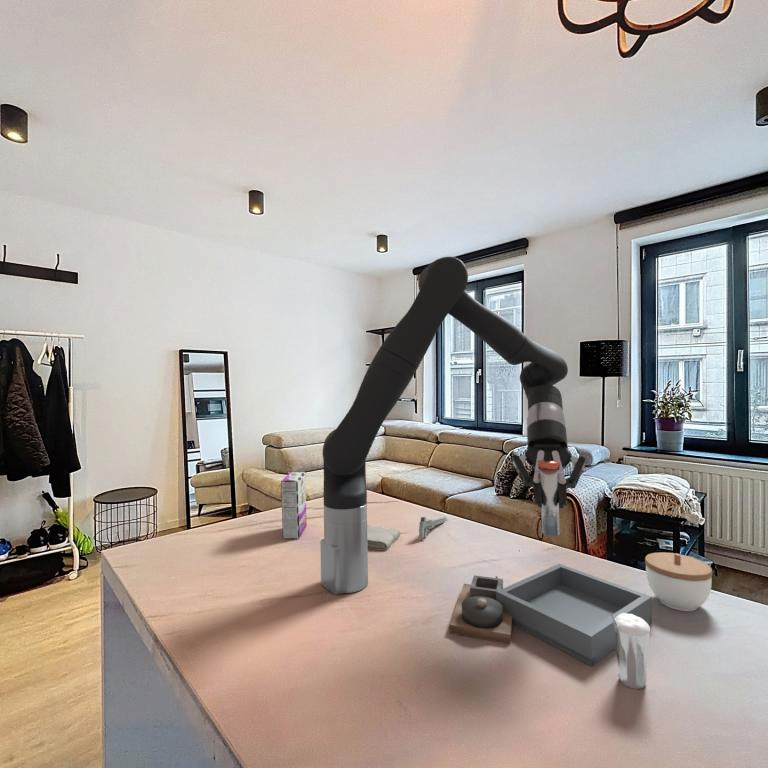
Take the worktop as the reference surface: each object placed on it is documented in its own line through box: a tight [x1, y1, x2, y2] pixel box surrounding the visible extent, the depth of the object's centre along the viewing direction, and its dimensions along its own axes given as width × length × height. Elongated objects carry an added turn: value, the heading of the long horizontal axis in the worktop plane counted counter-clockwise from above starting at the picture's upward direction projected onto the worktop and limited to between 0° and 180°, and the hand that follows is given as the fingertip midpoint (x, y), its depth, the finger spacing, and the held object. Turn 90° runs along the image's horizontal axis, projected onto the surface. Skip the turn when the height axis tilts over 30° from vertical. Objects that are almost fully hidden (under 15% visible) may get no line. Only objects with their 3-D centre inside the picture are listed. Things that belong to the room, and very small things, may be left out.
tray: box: [496, 563, 653, 667], centre depth 80 cm, size 20×18×4 cm
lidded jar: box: [644, 551, 713, 612], centre depth 85 cm, size 11×11×9 cm
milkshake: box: [610, 612, 651, 690], centre depth 63 cm, size 5×5×10 cm
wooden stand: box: [449, 574, 513, 644], centre depth 82 cm, size 16×10×4 cm, turn 161°
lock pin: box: [538, 460, 561, 537], centre depth 81 cm, size 4×4×13 cm
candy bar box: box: [280, 471, 307, 540], centre depth 128 cm, size 11×5×16 cm, turn 179°
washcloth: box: [367, 524, 401, 551], centre depth 122 cm, size 12×18×3 cm, turn 69°
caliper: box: [418, 516, 448, 541], centre depth 129 cm, size 20×1×6 cm, turn 153°
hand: (550, 505), depth 80 cm, fingers closed on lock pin, 3 cm apart
